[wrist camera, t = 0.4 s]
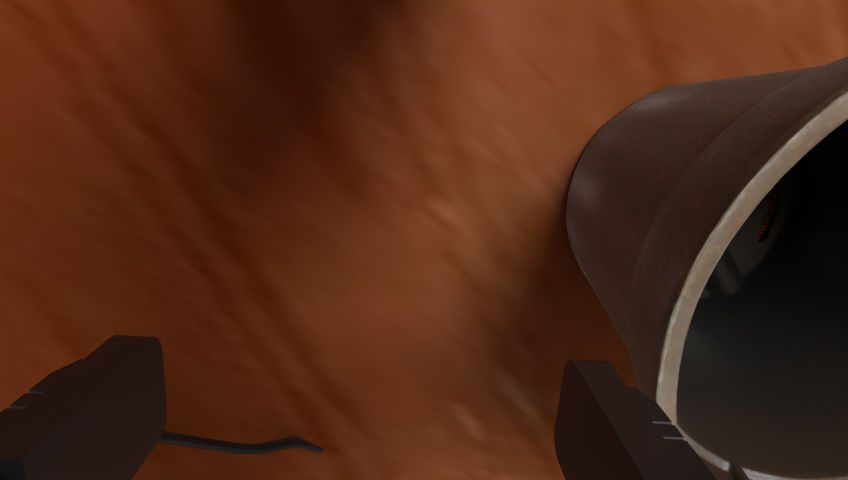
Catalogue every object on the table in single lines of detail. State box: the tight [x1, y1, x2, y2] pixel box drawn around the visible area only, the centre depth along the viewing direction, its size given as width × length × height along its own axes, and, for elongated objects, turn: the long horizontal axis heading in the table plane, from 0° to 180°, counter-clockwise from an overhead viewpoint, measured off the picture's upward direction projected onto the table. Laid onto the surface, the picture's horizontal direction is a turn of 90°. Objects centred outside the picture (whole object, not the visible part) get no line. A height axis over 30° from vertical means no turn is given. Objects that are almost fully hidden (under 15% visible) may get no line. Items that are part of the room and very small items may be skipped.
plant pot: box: [566, 57, 848, 480], centre depth 20 cm, size 16×16×16 cm
